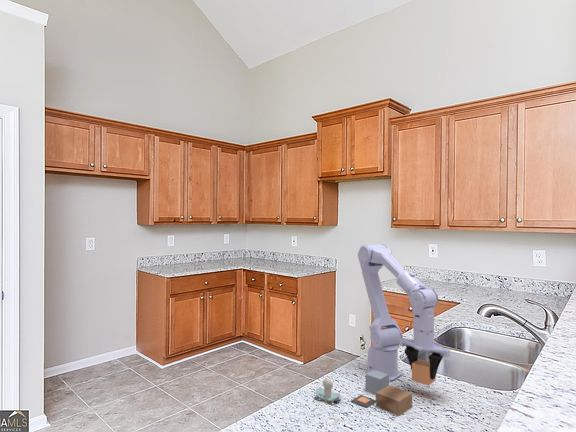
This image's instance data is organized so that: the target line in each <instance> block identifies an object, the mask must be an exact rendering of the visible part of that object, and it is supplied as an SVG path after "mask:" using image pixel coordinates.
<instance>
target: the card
mask: <svg viewBox="0 0 576 432" xmlns="http://www.w3.org/2000/svg"><path fill="white" fill-rule="evenodd" d="M350 401H351V403H353V404H355V405H359V406H360V407H362V408H365V409H368V408H369V407H371V406H372V405H374V404H376V399H373V398H371V397H369V396H365V395H363V394H360V395H357V397H355V398H353V399H351V400H350Z"/></svg>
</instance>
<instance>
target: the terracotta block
mask: <svg viewBox="0 0 576 432" xmlns="http://www.w3.org/2000/svg"><path fill="white" fill-rule="evenodd" d="M411 381H412V382H415V383H419V384H422V385H425V386H430V385H432V383H434V382H435V381H436V378H435V379H433V380H432V379H431V378H430V361H429V360H428V361H427V360H423V359H420V358H418V359H417V361H415V362H413V363H412V370H411Z"/></svg>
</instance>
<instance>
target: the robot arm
mask: <svg viewBox="0 0 576 432" xmlns="http://www.w3.org/2000/svg"><path fill="white" fill-rule="evenodd" d="M392 254H393V253H392V250H391V249H390V248H389V247H388V246H387V244H382V243H381V244H362V245H361V246H360V247H359V250H358V252H357V258H358V261H359V265H360V269H361V274H362V278H363V281H364V282H363V283H364V285H365V289H366V294H367V297H368V301H369V304H370V308H371V313H372V316H373V321H372V323H371V324H370V326H369V331H370V335H369V337H370V338H369V339H370V342H371V345H370V346H369V348H368V349H367V350H368V351H367V370H366V373H365V374H367V373H369V372H371V371H373V370H376V371H379V372H383V373H386V374H389V382H390V381H391V382H392V381H394V380H396V379H398V378H399V377H401V376H402V375H404V374H403V372H402V371H398V366H399V363H398V362H399V360H398V356H399V355H398V350H399V348H400V347H405V349H404V351H403V352H404V354H405V356H406V358H407V359H408V362H409V365H410V368H411V369H410V370H411V371H412V363H413V362H415V361H417V360H418V359H419V351H423V352H427V353H430V355H428V362H430V378H431V379H432V380H433V379H435V380H436V377H437V373H438V369H439V367H440V364H441V362H442V360H443V358H446V359H448V358H450V357H451V352H450V351H451V349H449V348H446V347H443V346H440V345H438V344H435V307H436V306H438V304H439V295H438V294H437V292H436V291H435V289H434V288H431V287H428V286H426V285H425V284H424V283H422V281H420V280H419V278H417V276H416V274H415V273H414V272H411V271H410V270H409V271H406V270H405V269H404V268H403V267H402V265H401V264H400V263H399V261H397V259H396V258H395V257H394V256H393V255H392ZM383 267H385V268H386V269H387V270H388V271H389V272H390V273H391V274H392V275H393V276H394V277H395V278H396V283H397V285H398V286H399V287H400V288H401V289H402V290H403V292H404V293H405V294H406V295H407V297H408V301H409V304H410V306H411V311H412V314H413V339H409V338H404V336H403V332H402V330H401V328H400V327H399V325H398V321H396V320H395V319H393V318H392V317H391V316H390V311H389V309H388V305H387V301H386V299H385V294H384V290H383V287H382V283H381V281H380V276H379V272H380V270H381V269H382V268H383Z"/></svg>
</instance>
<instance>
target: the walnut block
mask: <svg viewBox="0 0 576 432" xmlns="http://www.w3.org/2000/svg"><path fill="white" fill-rule="evenodd" d="M375 400H376V402H375V407H377V408H379V409H381V410H384V411H386V412H388V413H391V414H393V415H396V416H397V417H400V416H401V415H403V414H404V413H406V412H407V411H409V410H411V409H412V408H413V393H412V392H410V391H407V390H404V389H401V388H399V387H395V386H393V385H390V384H389V386H387V387H385V388H383V389H382V390H380V391H378V392H376V395H375Z"/></svg>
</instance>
